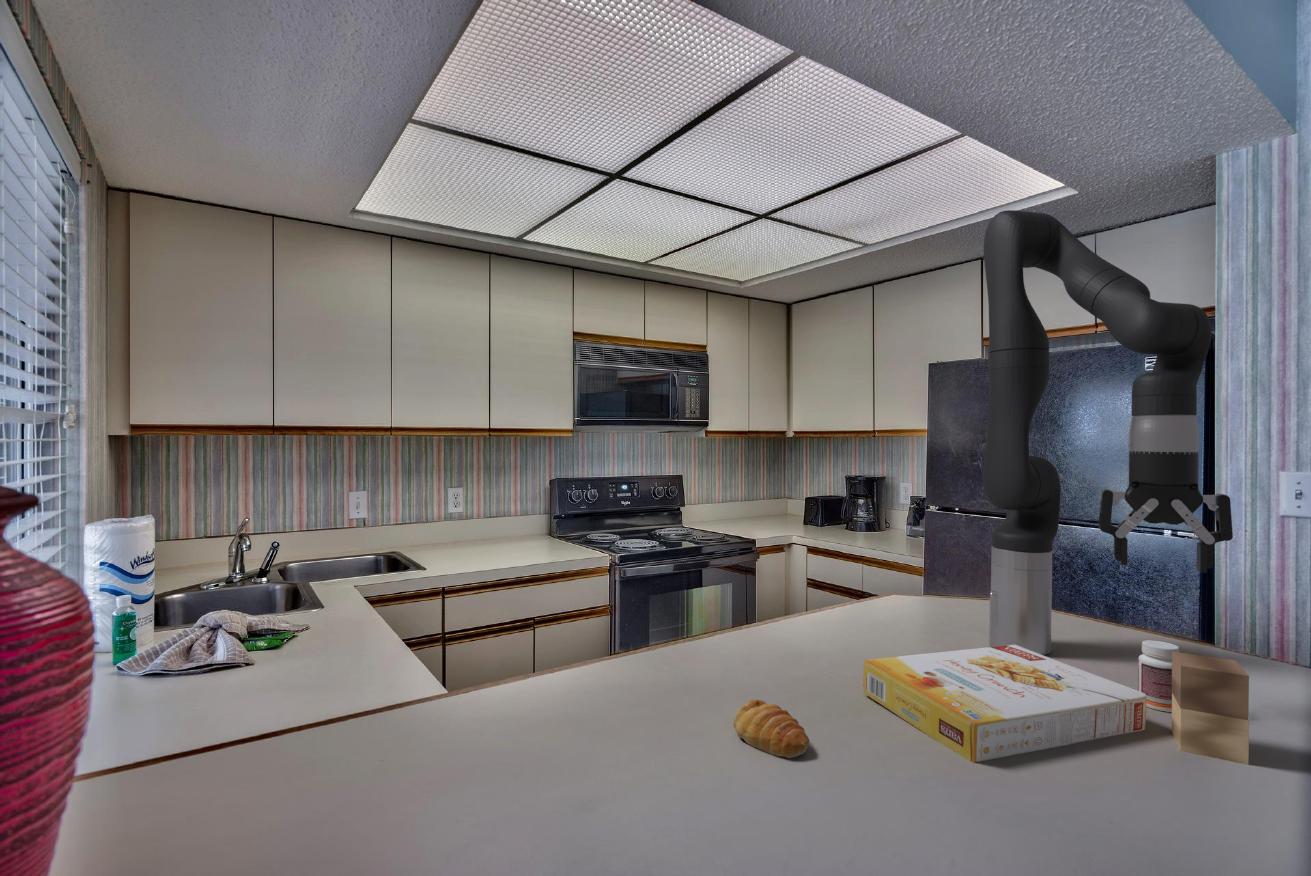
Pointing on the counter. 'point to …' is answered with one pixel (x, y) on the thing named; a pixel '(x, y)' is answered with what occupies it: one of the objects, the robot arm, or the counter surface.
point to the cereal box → (1002, 700)
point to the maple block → (1210, 734)
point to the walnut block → (1210, 685)
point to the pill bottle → (1156, 674)
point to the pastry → (770, 729)
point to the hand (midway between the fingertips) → (1161, 568)
